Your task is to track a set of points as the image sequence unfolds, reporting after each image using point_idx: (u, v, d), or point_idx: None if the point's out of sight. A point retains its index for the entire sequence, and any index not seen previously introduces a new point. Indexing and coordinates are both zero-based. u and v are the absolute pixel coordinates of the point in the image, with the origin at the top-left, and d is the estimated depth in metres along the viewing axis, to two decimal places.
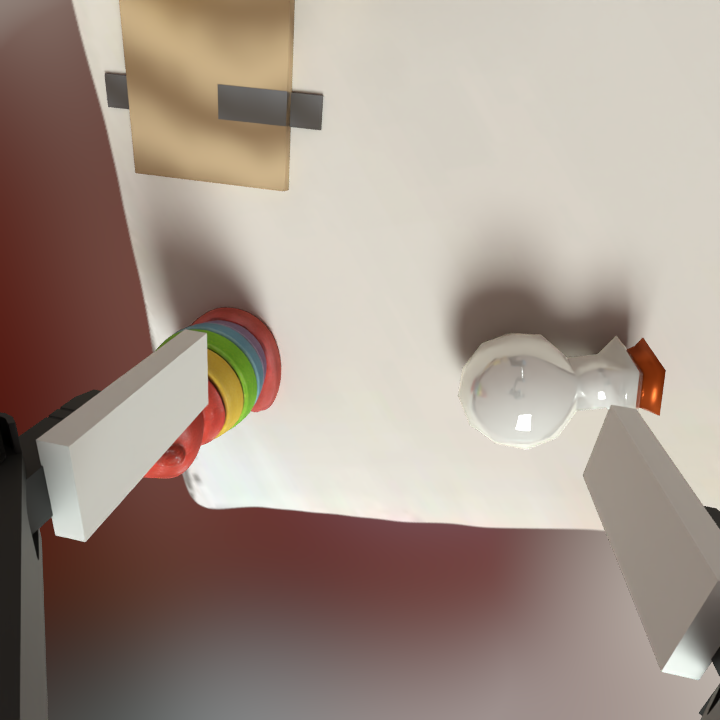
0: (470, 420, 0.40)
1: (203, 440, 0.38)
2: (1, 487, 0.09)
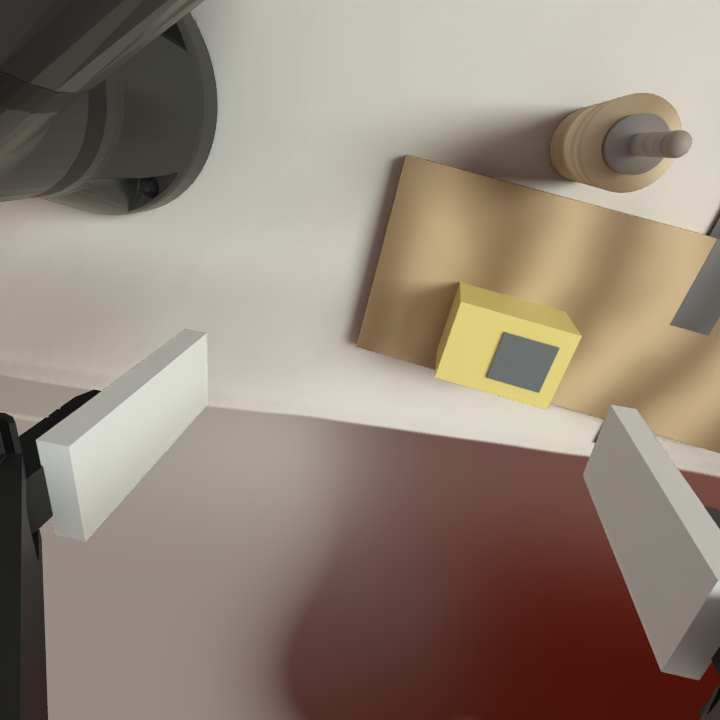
0: None
1: None
2: (1, 487, 0.09)
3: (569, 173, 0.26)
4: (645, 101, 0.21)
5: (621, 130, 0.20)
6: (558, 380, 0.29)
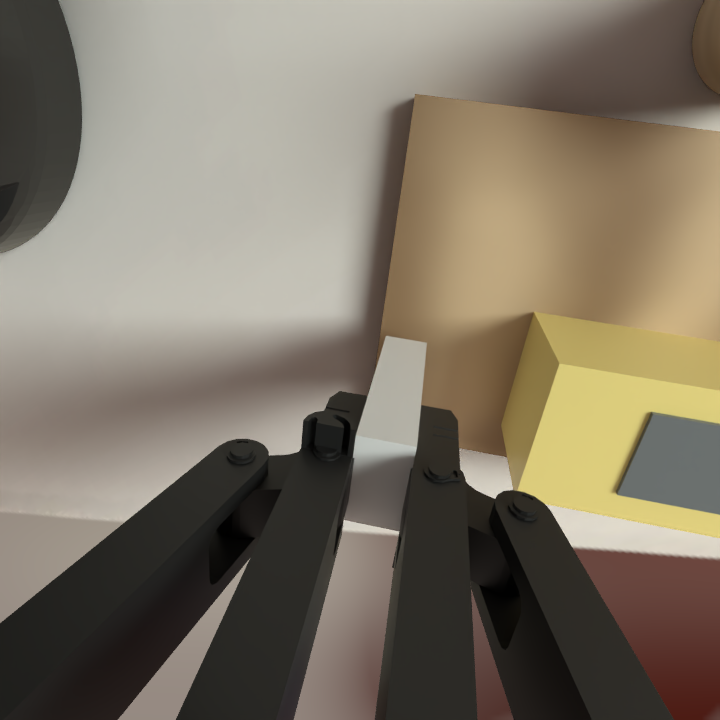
0: None
1: None
2: (329, 482, 0.10)
3: None
4: None
5: None
6: None
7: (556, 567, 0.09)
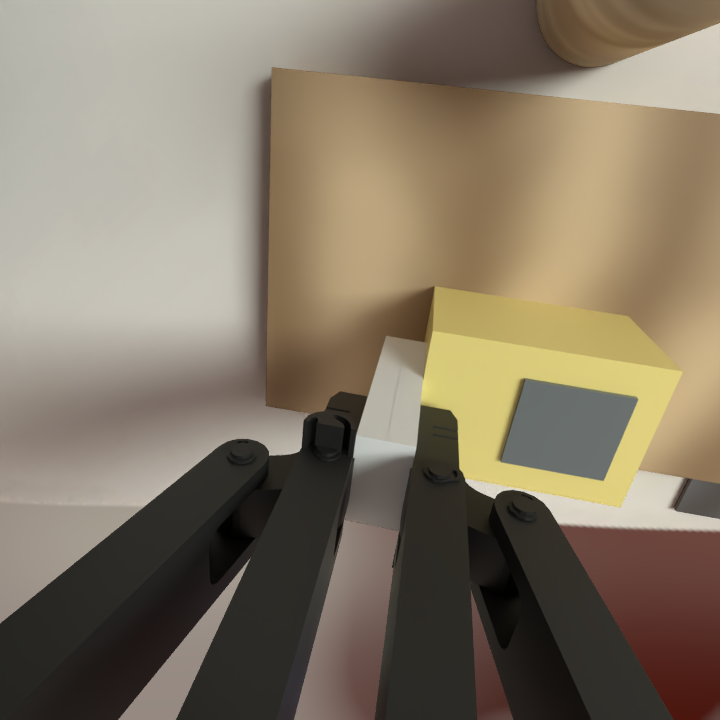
0: None
1: None
2: (329, 482, 0.10)
3: (584, 32, 0.12)
4: None
5: None
6: (639, 455, 0.15)
7: (556, 567, 0.09)
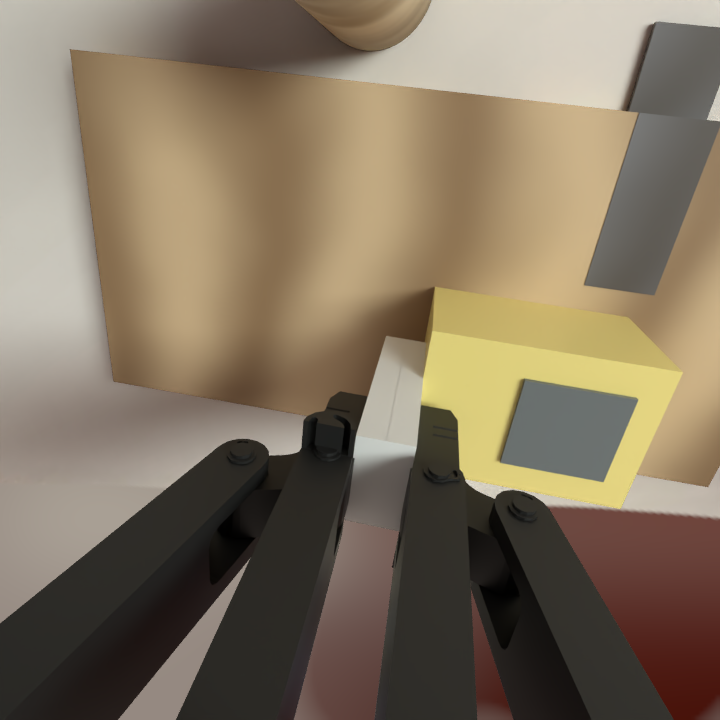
0: None
1: None
2: (329, 482, 0.10)
3: (309, 13, 0.13)
4: None
5: None
6: (639, 457, 0.15)
7: (556, 567, 0.09)
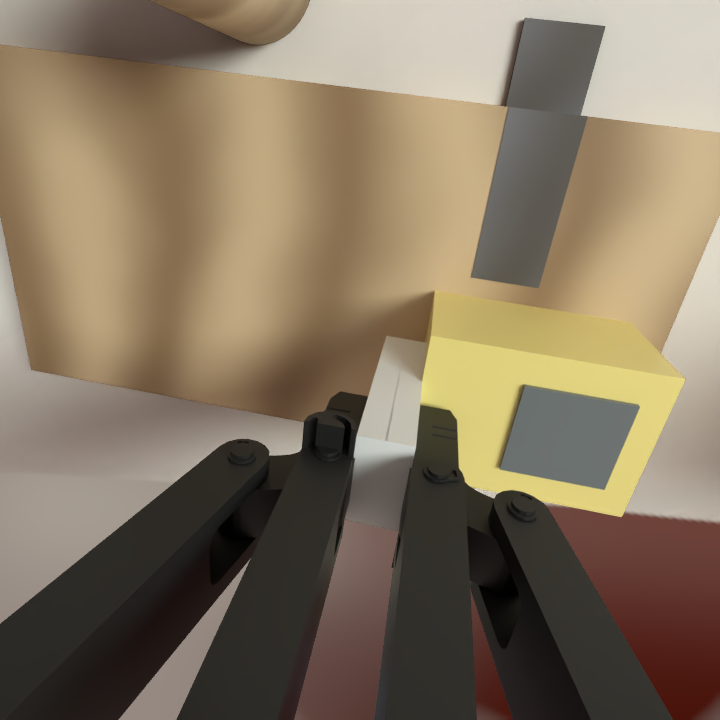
0: None
1: None
2: (329, 482, 0.10)
3: None
4: None
5: None
6: (641, 464, 0.15)
7: (555, 567, 0.09)
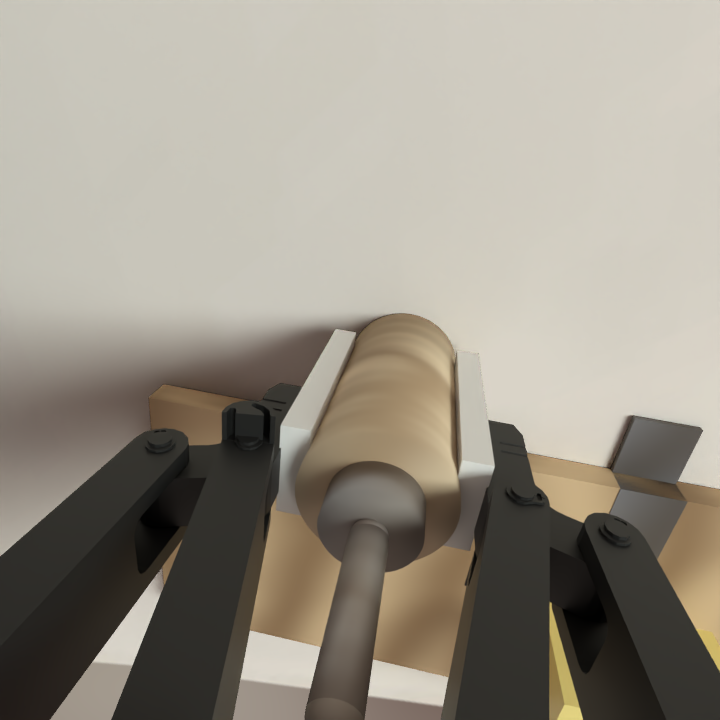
0: None
1: None
2: (252, 470, 0.10)
3: None
4: (377, 443, 0.11)
5: (331, 513, 0.11)
6: None
7: (649, 596, 0.09)
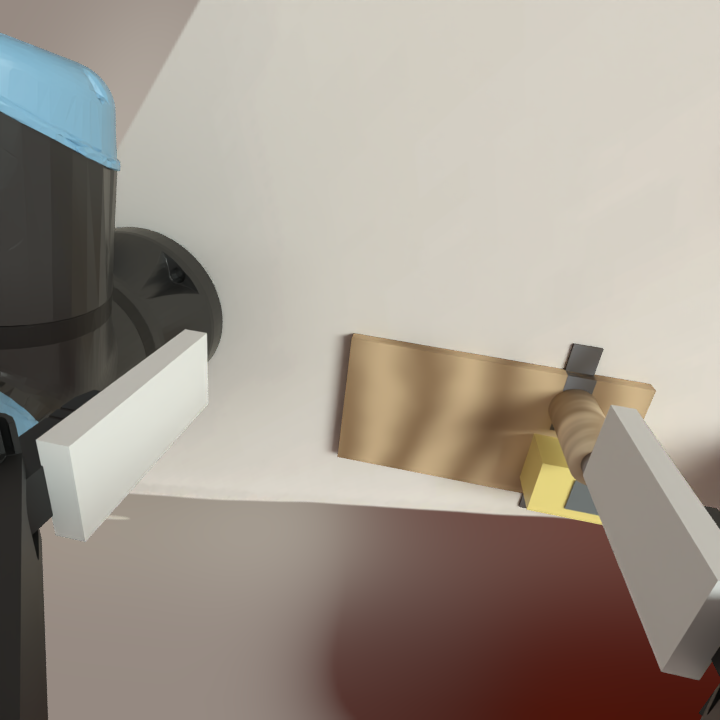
0: None
1: None
2: (1, 487, 0.09)
3: None
4: None
5: None
6: None
7: None
